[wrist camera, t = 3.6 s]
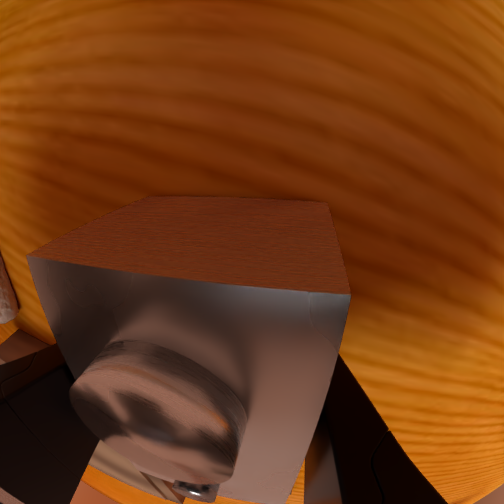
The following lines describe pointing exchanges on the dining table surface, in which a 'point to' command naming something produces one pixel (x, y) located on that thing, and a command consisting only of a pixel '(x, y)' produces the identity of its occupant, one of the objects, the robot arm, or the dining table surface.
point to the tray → (103, 454)
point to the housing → (201, 335)
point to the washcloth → (6, 297)
